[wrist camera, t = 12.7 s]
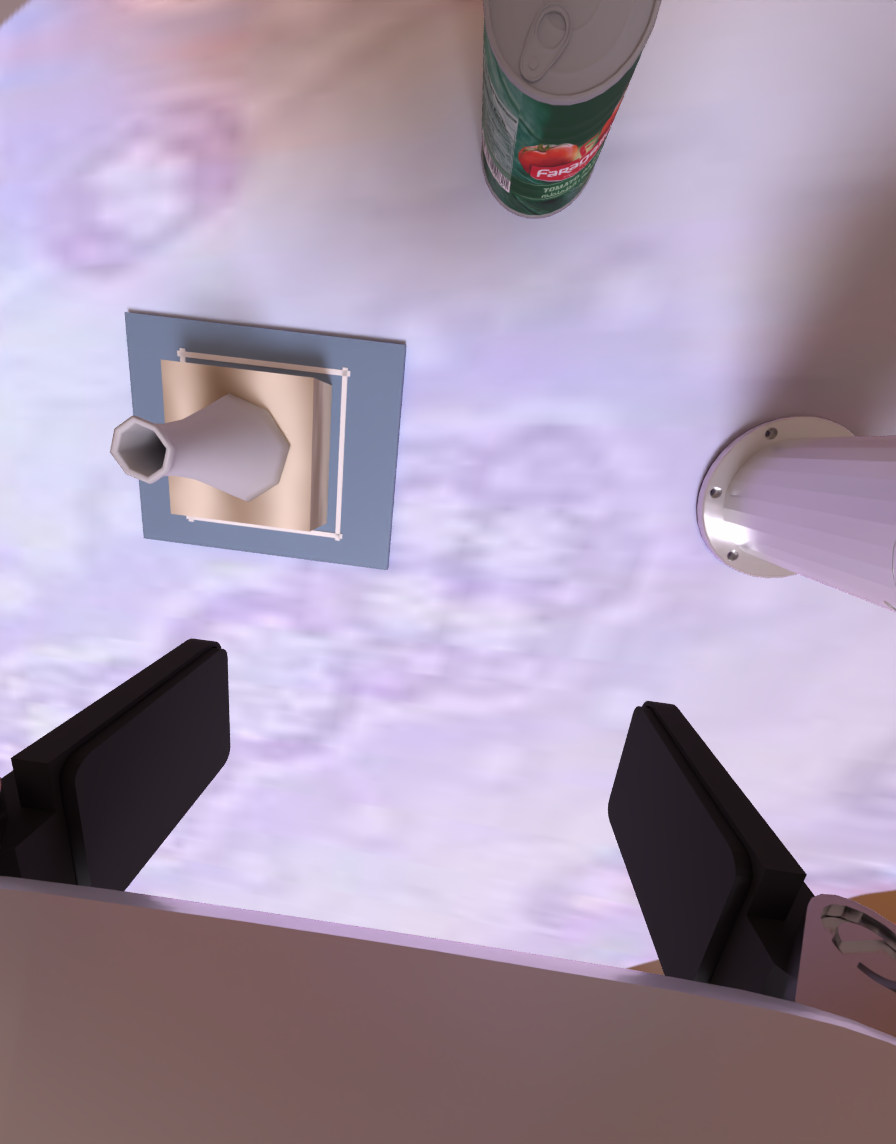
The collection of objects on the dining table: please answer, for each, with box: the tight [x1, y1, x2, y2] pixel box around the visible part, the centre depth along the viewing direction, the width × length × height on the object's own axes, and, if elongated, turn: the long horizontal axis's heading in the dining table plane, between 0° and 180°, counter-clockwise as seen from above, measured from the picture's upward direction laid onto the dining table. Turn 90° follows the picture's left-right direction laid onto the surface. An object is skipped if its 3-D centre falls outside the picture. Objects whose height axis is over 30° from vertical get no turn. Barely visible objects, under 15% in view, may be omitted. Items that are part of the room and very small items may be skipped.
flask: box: [110, 393, 290, 502], centre depth 27 cm, size 7×7×10 cm
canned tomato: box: [481, 0, 661, 218], centre depth 24 cm, size 8×8×11 cm
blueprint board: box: [125, 312, 406, 570], centre depth 36 cm, size 22×18×1 cm
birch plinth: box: [161, 360, 332, 532], centre depth 34 cm, size 11×11×4 cm
